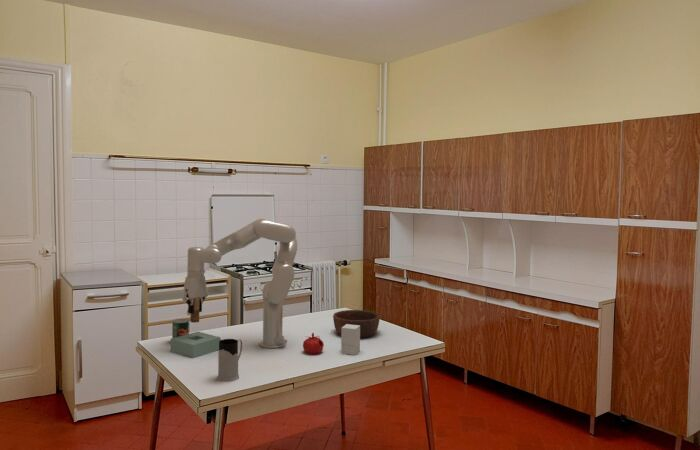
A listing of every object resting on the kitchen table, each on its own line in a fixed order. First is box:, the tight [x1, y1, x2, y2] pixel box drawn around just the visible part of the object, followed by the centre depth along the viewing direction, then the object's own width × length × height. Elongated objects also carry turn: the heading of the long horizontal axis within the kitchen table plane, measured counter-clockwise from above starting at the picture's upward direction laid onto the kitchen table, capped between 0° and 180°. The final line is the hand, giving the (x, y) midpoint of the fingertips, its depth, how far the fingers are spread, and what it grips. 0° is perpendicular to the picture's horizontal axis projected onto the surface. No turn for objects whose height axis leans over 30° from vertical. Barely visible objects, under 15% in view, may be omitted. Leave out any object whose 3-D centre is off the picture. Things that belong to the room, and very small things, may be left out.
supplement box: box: [340, 324, 361, 356], centre depth 253 cm, size 7×7×13 cm
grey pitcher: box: [216, 338, 243, 383], centre depth 218 cm, size 9×14×15 cm, turn 159°
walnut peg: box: [189, 297, 200, 323], centre depth 250 cm, size 4×4×12 cm
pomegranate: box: [302, 332, 325, 355], centre depth 252 cm, size 10×10×9 cm
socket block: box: [170, 331, 221, 359], centre depth 251 cm, size 16×16×6 cm
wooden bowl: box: [332, 309, 381, 339], centre depth 286 cm, size 25×25×10 cm
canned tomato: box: [171, 318, 190, 338], centre depth 263 cm, size 8×8×11 cm
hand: (195, 312), depth 250 cm, fingers closed on walnut peg, 4 cm apart
